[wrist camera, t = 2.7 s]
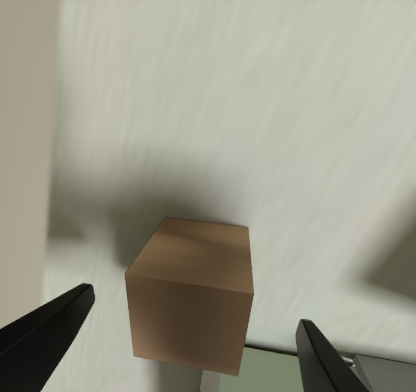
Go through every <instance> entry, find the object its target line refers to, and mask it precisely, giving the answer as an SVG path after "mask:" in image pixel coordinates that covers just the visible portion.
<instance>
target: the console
mask: <svg viewBox="0 0 416 392" xmlns="http://www.w3.org/2000/svg"><path fill="white" fill-rule="evenodd" d="M353 362H354V364H355V367H356V369H357V371H358V373H359V375H360V377H361V379H362V382H363V384H364V385H365V386H366V388H367V389H368V390H369V391H370V392H416V365H414V364H408V363H403V362H397V361H391V360H386V359H380V358H374V357H369V356H363V355H357V354H356V355H355V357H354V359H353Z"/></svg>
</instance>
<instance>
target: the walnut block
mask: <svg viewBox="0 0 416 392" xmlns="http://www.w3.org/2000/svg"><path fill="white" fill-rule="evenodd" d="M125 281H126V291H127V300H128V309H129V318H130V327H131V336H132V346H133V355H134V356H135V357H140V358H145V359H150V360H156V361H161V362H166V363H171V364H176V365H181V366H186V367H191V368H196V369H201V370H206V371H211V372H216V373H221V374H227V375H232V376H237V377H238V376H239V370H240V365H241V360H242V354H243V349H244V344H245V338H246V333H247V328H248V323H249V317H250V312H251V307H252V301H253V296H254V289H253V277H252V265H251V253H250V241H249V229H248V227H242V226H234V225H226V224H217V223H209V222H201V221H193V220H184V219H176V218H168V217H165V219H164V220H163V221H162V223H161V224H160V226H159V227H158V228H157V230H156V231H155V232H154V234H153V235H152V237H151V238H150V239H149V241H148V242H147V244H146V245H145V246H144V248H143V249H142V251H141V252H140V253H139V255H138V256H137V257H136V259H135V260H134V262H133V263H132V264H131V266H130V267H129V269H128V270H127V271H126V273H125Z"/></svg>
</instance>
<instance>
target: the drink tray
mask: <svg viewBox="0 0 416 392" xmlns="http://www.w3.org/2000/svg"><path fill="white" fill-rule="evenodd" d="M349 367H350V368H351V369H352V371H353V372H354V373H355V374H356V375H357V377H358V378H359V379H360V380H361V382H362V379H361V377H360V375H359V373H358V371H357V369H356V367H351V366H349ZM362 383H363V382H362ZM200 392H304V390H303V385H302V379H301V372H300V365H299V358H298V357H296V356H291V355H285V354H280V353H274V352H269V351H263V350H258V349H252V348H247V347H244V349H243V354H242V360H241V365H240V370H239V376H238V377H237V376H232V375H227V374H221V373H216V372H211V371H206V370H203V372H202V379H201V386H200Z"/></svg>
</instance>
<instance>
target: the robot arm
mask: <svg viewBox="0 0 416 392" xmlns="http://www.w3.org/2000/svg"><path fill="white" fill-rule="evenodd" d="M94 302H95V294H94V289H93V285H92V284H87V283H82V284H80V285H78V286H77V287H75V288H73V289H71V290H69V291H68V292H66V293H64V294H62V295H60V296H59V297H57V298H55V299H53V300H51V301H50V302H48V303H46V304H44V305H42V306H41V307H39V308H37V309H35V310H34V311H32V312H30V313H28V314H26V315H25V316H23V317H21V318H20V319H17V320H16V321H14V322H12V323H10V324H8V325H7V326H5V327H3V328H1V329H0V392H40V391H41V390H42V388H43V387H44V385H45V384H46V382H47V381H48V379H49V378H50V376H51V375H52V373H53V371H54V370H55V368H56V367H57V365H58V364H59V362H60V361H61V359H62V358H63V356H64V355H65V353H66V352H67V350H68V348H69V347H70V345H71V344H72V342H73V341H74V339H75V337H76V335H77V334H78V332H79V330H80V328H81V326H82V324H83V323H84V321H85V319H86V317H87V315H88V313H89V311H90V310H91V308H92V306H93V304H94ZM296 344H297V351H298V358H299V365H300V372H301V379H302V385H303V390H304V392H370V391H369V390H368V389H367V388H366V386H365V385H364V384H363V383H362V382H361V380H360V379H359V378H358V377H357V375H356V374H355V373H354V372H353V371H352V369H351V368H350V367H349V366H348V364H347V363H346V362H345V361H344V359H343V358H342V357H341V356H340V355H339V353H338V352H337V351H336V350H335V348H334V347H333V346H332V345H331V344H330V342H329V341H328V340H327V339H326V337H325V336H324V335H323V334H322V332H321V331H320V330H319V329H318V328H317V326H316V325H315V324H314V323H313V322H312V321H311V320H307V319H301V320H300V321H299V324H298V327H297V331H296Z"/></svg>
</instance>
